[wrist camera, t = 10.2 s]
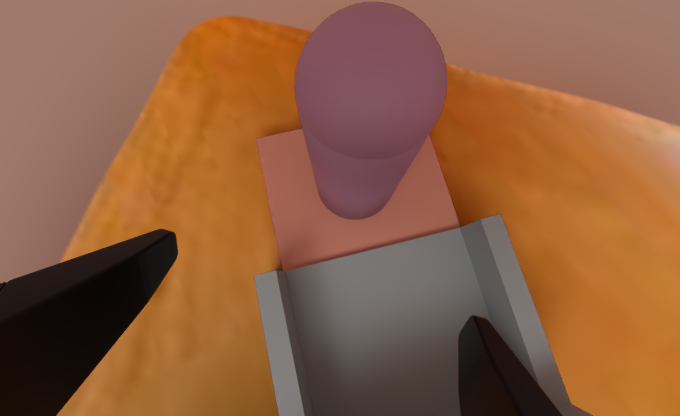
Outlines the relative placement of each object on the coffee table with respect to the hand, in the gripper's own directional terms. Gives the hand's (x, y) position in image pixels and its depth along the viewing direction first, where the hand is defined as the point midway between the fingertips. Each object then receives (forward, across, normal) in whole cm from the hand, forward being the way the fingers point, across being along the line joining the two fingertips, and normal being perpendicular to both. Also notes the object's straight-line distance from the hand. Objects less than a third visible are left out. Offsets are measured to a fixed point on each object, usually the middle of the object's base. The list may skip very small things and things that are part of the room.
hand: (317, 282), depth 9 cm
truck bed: (+10, -3, +7) cm, 12 cm away
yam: (+12, 0, +3) cm, 13 cm away
